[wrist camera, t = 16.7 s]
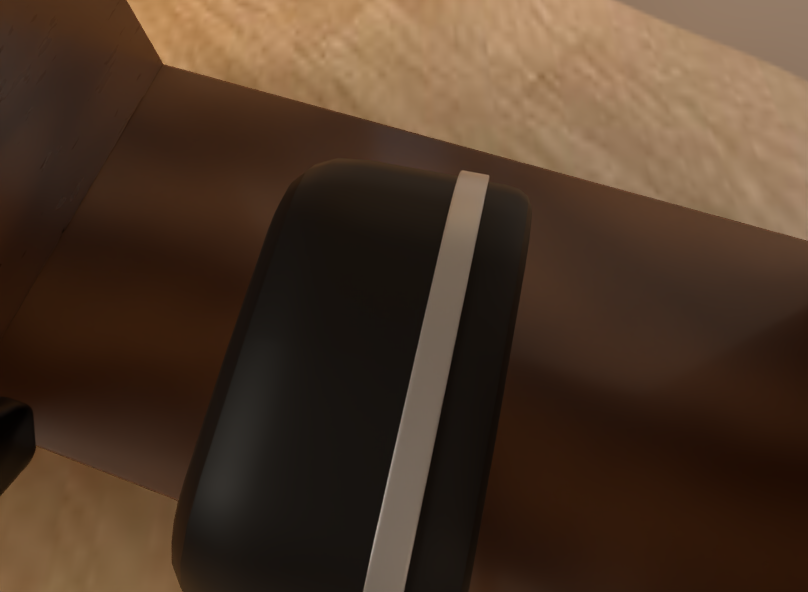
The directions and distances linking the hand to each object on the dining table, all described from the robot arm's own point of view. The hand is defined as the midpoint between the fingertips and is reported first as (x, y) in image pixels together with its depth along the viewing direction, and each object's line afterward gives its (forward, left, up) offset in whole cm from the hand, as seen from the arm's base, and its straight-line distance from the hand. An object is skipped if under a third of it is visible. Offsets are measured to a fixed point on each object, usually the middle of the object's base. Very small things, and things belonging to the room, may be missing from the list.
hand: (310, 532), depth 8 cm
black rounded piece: (+2, +2, -9) cm, 10 cm away
